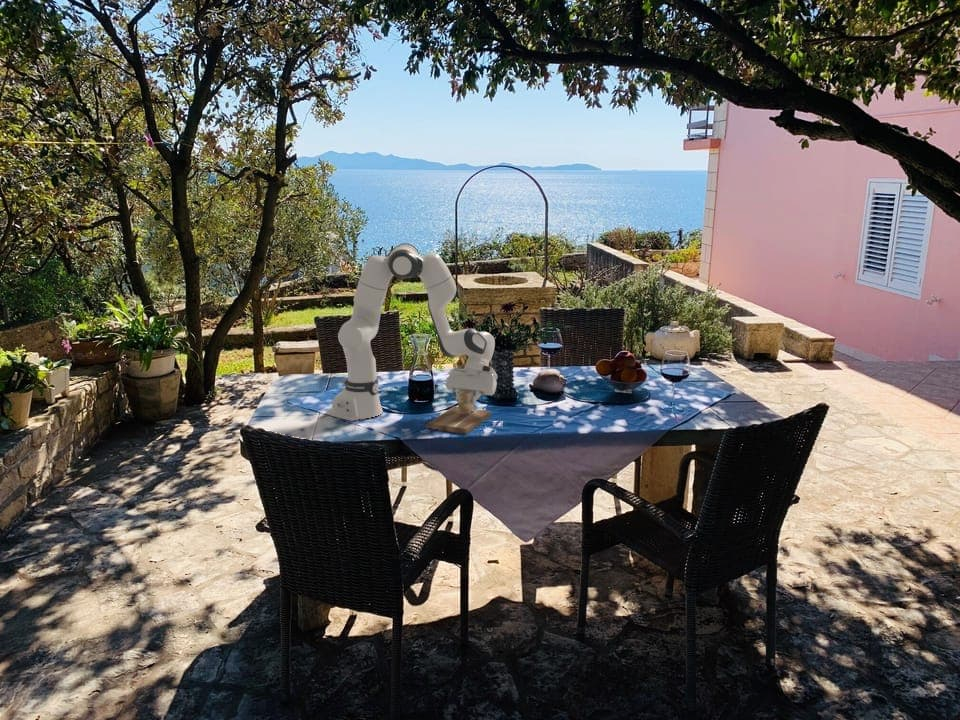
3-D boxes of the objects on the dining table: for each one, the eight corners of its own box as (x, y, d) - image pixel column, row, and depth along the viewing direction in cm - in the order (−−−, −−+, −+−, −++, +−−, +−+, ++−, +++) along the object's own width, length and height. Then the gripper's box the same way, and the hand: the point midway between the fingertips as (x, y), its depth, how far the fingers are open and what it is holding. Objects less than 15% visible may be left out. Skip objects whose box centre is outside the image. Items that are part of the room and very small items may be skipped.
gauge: (458, 413, 263) (458, 393, 261) (463, 410, 267) (462, 390, 264) (471, 415, 261) (471, 395, 259) (475, 412, 264) (475, 392, 262)
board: (427, 428, 254) (427, 423, 253) (453, 411, 272) (453, 406, 272) (466, 434, 247) (466, 428, 247) (490, 416, 266) (490, 410, 265)
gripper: (449, 364, 270) (438, 394, 264) (496, 368, 262) (486, 400, 256) (454, 372, 275) (444, 402, 269) (501, 377, 267) (491, 408, 261)
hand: (465, 401), depth 262 cm, fingers open, 5 cm apart
